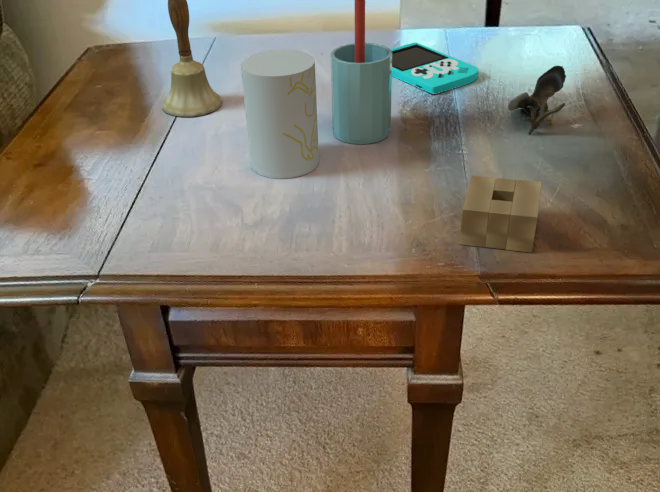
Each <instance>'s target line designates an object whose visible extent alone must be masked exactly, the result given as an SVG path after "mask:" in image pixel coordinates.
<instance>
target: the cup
mask: <svg viewBox="0 0 660 492" xmlns="http://www.w3.org/2000/svg"><path fill="white" fill-rule="evenodd" d="M240 73H241V82H242V90H243V93H242V94H243V101H244V111H245V120H246V132H247V140H248V148H249V149H248V150H249V159H250V167H251V169H252V170H253V172H255V173H256V174H258V175H259V176H262V177H266V178H269V179H279V180H281V179H282V180H283V179H292V178H293V179H294V178H298V177H302V176H305V175H307V174H309V173H311V172H313V171H314V170H316V168H317V167H318V166H319V164H320V153H319V152H320V151H319V130H318V129H319V128H318V125H319V124H318V106H317V105H318V103H317V82H316V80H317V79H316V78H317V77H316V60H315V58H314V56H313V55H311V54H310V53H307V52H304V51H302V50H295V49H272V50H265V51H261V52H256V53H253V54H250V55H248V56H246V57H245V58H244V59H243V60H242V61H241V62H240Z"/></svg>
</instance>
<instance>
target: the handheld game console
mask: <svg viewBox="0 0 660 492" xmlns="http://www.w3.org/2000/svg"><path fill="white" fill-rule="evenodd" d="M389 49H390V50H391V52H392V78H395V79H397V80H399V79H400V81H401V80H402V81H401V82H403V81H404V83H406V82H407V83H406V84H408V83H410V84H413V85H415V86H417V87H419V88H422V89H424V90H426V91H428V92H430V93H438V92H441V91H445V90H448V91H451V90H450V89H452V88H455V87H458V86H461V87H463V86H462V85H464V86H466V85H465V84H467V85H469V84H468V83H470V84H472V83H474V82H476V80H478V78H479V72H480V71H479V70H480V69H479V67H477V66H475V65H473V64H471V63H468V62H466V61H463V60H461V59H458V58H456V57H454V56H451V55H449V54H446V53H443V52H441V51H438V50H436V49H434V48H431V47H429V46H426V45H423V44H421V43H420V42H416V41H414V42H411V43H406V44H402V45H399V46H396V47H391V48H389ZM473 81H474V82H473ZM471 82H472V83H471ZM410 84H409V85H410ZM458 88H459V87H458ZM455 89H456V88H455ZM452 90H453V89H452ZM445 92H446V91H445Z"/></svg>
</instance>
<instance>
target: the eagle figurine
mask: <svg viewBox="0 0 660 492" xmlns="http://www.w3.org/2000/svg"><path fill="white" fill-rule="evenodd" d="M566 78H567V75H566V70H565V67H563V65H554V66H552V67H550V68H549V69H548V70H546V71H545V72H544V73H542V75H540V76H539V77H538V78H537V79H536V83H535V86H534V89H533V93H532V94H529V93H528V92H523V93H521V94H518V95H516V96H514V97H513V98H511V99H510V101H509V103H508V106H507V107H508V108H507V109H508V111H511V112H514V111H516V110H518V109H522V110H523V111H525V114H526V116H525V117H524V116H523V118H522V120H524V121H528V122H529V123H530V125H529V130H528V133H527V134H528V136H530V135H532V133H533V132H534V131H535V130H537V128H538V127H539V126H540V124H541V123H542V121H546V122H548V123H549V124H551V125H552V126H553V125H554V121H553V115H552V114H555V113H558V112H559V111H561V110H562V109H563V108H564V107H565V106H566V102H562V103H561V104H559V105H558V106H556V107H554V108H552V109H549V105H548V100H549V99H550V98H551V97H554V95H555V94H556V93H558V92H560V91H561V90H562V89H563V87H564V83H565V82H566Z"/></svg>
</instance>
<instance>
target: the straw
mask: <svg viewBox="0 0 660 492" xmlns="http://www.w3.org/2000/svg"><path fill="white" fill-rule="evenodd" d="M354 43H355V63H365V43H366V0H354Z"/></svg>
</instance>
